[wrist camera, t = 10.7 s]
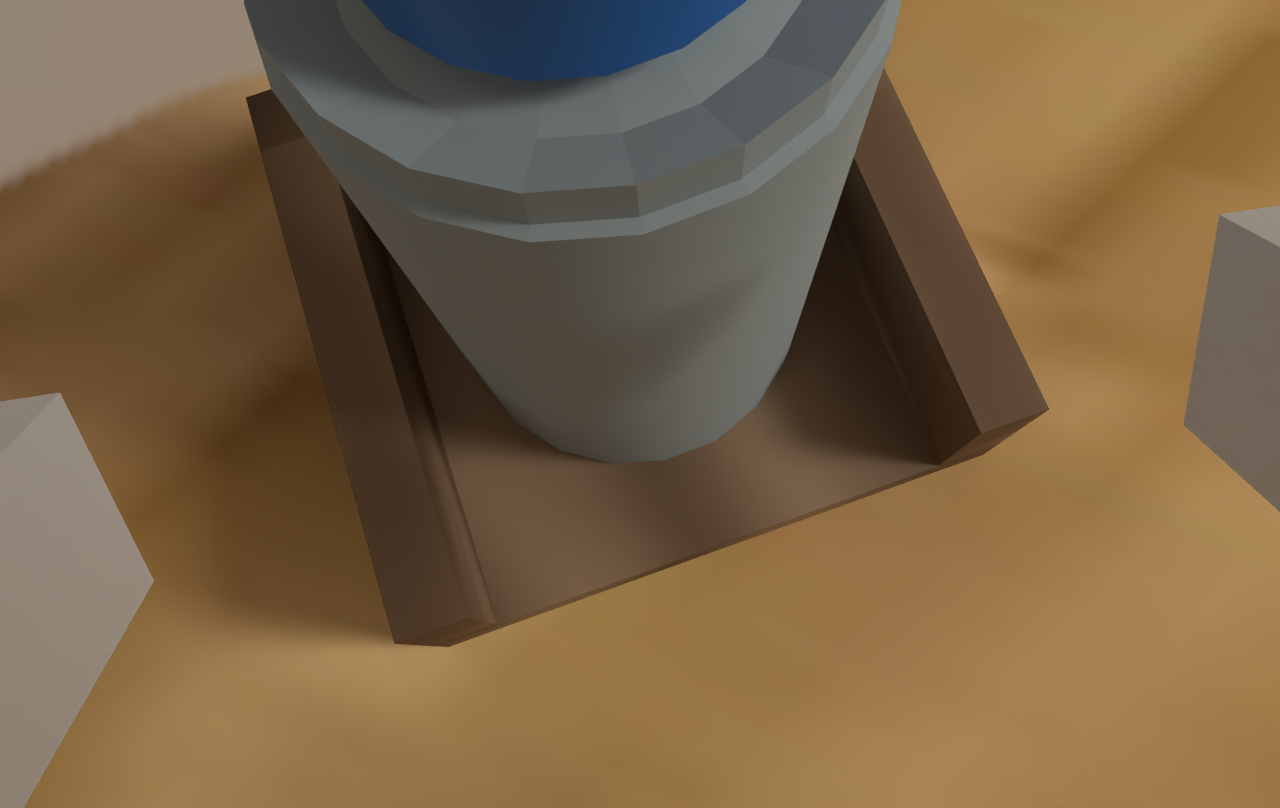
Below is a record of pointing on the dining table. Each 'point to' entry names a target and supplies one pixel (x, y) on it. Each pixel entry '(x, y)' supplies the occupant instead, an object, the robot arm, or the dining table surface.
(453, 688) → the dining table surface
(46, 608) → the robot arm
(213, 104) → the dining table surface
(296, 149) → the rest
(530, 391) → the blue and grey bottle
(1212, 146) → the dining table surface
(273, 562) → the dining table surface
